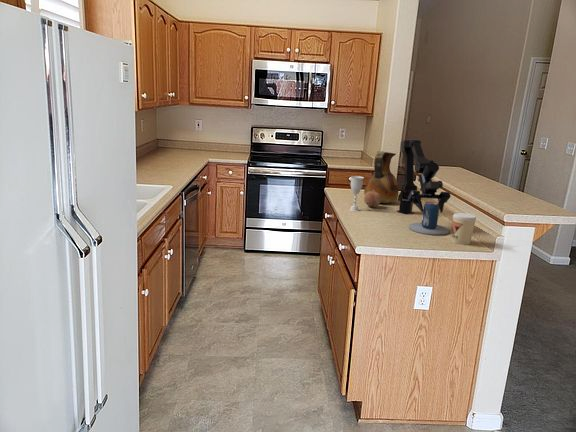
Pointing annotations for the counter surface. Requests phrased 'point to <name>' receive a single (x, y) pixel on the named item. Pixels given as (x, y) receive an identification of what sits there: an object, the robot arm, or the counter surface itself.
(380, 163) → the ceramic pitcher
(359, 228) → the counter surface
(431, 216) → the soda can
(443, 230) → the rubber mat
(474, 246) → the counter surface
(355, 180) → the chalice
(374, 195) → the onion
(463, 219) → the coffee cup
